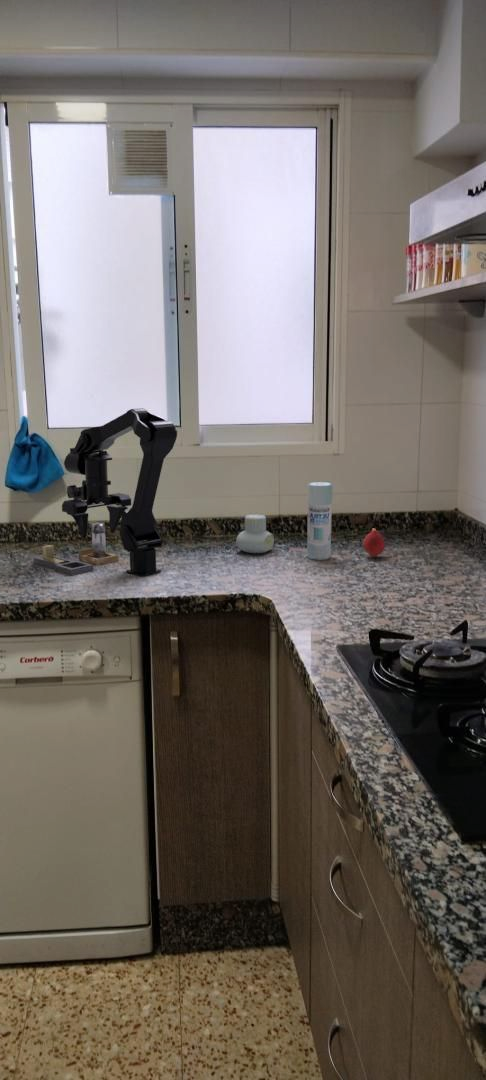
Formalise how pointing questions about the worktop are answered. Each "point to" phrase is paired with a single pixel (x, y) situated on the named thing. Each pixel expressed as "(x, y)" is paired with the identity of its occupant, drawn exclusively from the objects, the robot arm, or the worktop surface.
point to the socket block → (65, 565)
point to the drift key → (50, 554)
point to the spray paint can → (319, 520)
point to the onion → (374, 543)
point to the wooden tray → (87, 557)
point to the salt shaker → (98, 540)
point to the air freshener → (255, 535)
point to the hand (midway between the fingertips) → (98, 535)
